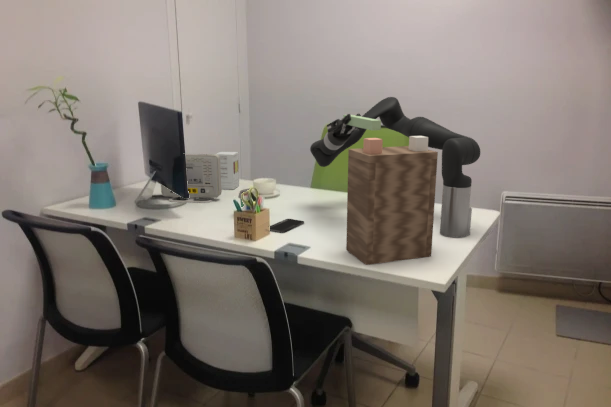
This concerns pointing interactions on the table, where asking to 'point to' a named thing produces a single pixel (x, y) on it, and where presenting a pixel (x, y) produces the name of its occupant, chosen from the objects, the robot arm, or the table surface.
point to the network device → (200, 178)
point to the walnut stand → (390, 204)
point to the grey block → (418, 143)
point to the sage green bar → (364, 122)
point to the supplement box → (229, 170)
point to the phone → (285, 225)
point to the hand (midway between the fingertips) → (354, 116)
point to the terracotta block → (372, 145)
